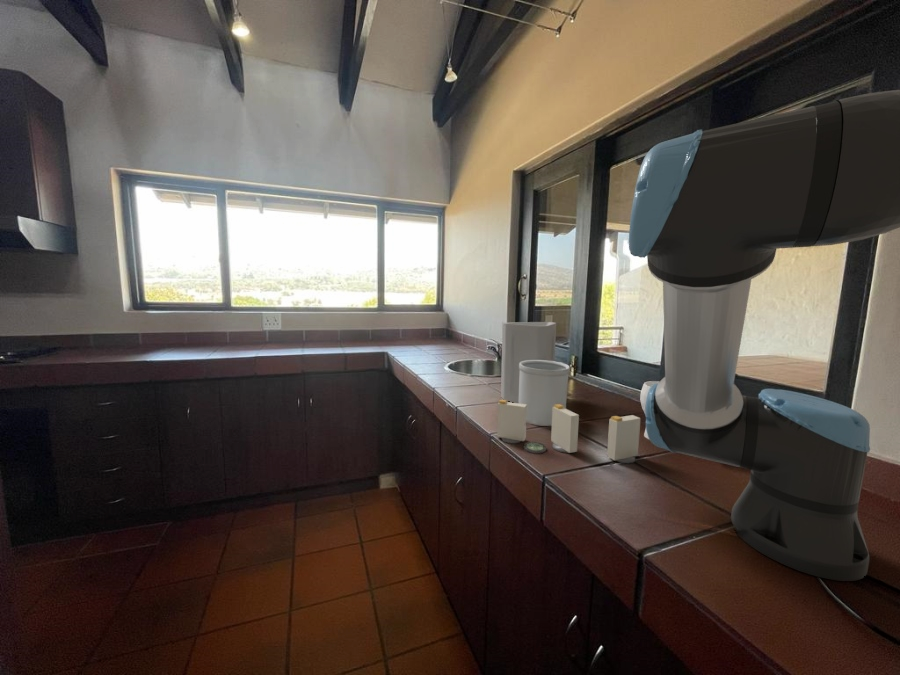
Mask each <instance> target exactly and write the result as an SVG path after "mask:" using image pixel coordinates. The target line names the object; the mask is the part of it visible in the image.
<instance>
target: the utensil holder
mask: <svg viewBox="0 0 900 675" xmlns="http://www.w3.org/2000/svg"><path fill="white" fill-rule="evenodd" d="M519 369H520V376H519V404H527V414H526V424H530V425H535V426H540V427H546V426H547V427H552V407H554V405H556V404H560V405H563V406H564V407H563V408H565V409H567V400H568V399H567V398H568V385H569V373H570V371H571V368H570V365H568V364H566V363H564V362H561V361H556V360H555V361H548V360H526V361H522V362H520V363H519Z"/></svg>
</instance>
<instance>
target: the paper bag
mask: <svg viewBox="0 0 900 675" xmlns="http://www.w3.org/2000/svg"><path fill="white" fill-rule="evenodd" d="M501 328H502V330H501V333H502V334H501V335H502V336H501V370H500V372H501V374H500V376H501V377H500V378H501V379H500V380H501V381H500V383H501V384H500V398H501V397H502V398H503V399H504V400H507V402H508V401H510V402H511V403H512V402H514V403H519V376H520V369H519V363H520V362H522V361H526V360H548V361H556V344H557V343H556V340H557V339H556V337H557V322H553V321H529V322H528V321H527V322H526V321H524V322H522V321H517V322H512V321H511V322H502V326H501ZM502 398H501V399H502ZM503 399H502V400H503Z"/></svg>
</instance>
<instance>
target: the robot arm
mask: <svg viewBox="0 0 900 675" xmlns="http://www.w3.org/2000/svg"><path fill="white" fill-rule="evenodd" d="M632 200H633V201H632V205H631V212H630V220H629V230H628V250H629V252H630V254H631V255H632V256H633V257H639V258H640V259H642V258H646V257H647V258H646V259H647V266H648V270H649V272H650V273H651V275H652V276H653V277H654V278H655V279H657V280H658V281H660V282H662V294H663V295H662V296H663V297H662V300H663V301H662V302H663V307H662V308H663V339H664V342H663V344H664V377H663V378H662V379H661V380H660V382H659V384H654V385H652V386H651V387H650V389H649V391H648V394H647V399H646V407H645V413H644V416H645V429H646V430H647V434H648V437H649V439H650V440H649V439H648V440H649V441H650V443H651V444H653V446H655V447H657V448H660V449H663V450H666V451H668V452H671V453H675V454H682V455H685V456H691V457H694V458H699V459H703V460H707V461H711V462H716V463H719V464H725V465H729V466H733V467H737V468H742V469H746V470H749V471H750V476H749V481H748V483H747V485H746V486H745V487H744V489H743V490H742V492H741V494H740V495H739V497H738V498H737V500H735V503H734V505H732V509H731V516H730V520H731V523H732V525H733V526H734V528H735V529H734V530H733V532H735V533H736V534H737V535H738V537H739V538H740V539H742V540H743V541H744V542H745V543H747V545H749V546H750V547H752V549H754V550H756V551H757V552H759V553H760V554H762V555H764V556H766V557H767V558H769V559H771V560H772V561H776V562H777V563H779V564H782V565H784V566H787V567H788V568H790V569H792V570H793V569H794V570H796V571H798V572H801V573H804V574H808V575H811V576H814V577H818V578H822V579H826V580H827V579H828V580H831V581H837V582H838V581H840V582H853V581H859V580H861V579H864V578H865V577H866V576H867V574H868V571H869V565H870V554H869V550H868V546H867V544H866V540H865V536H864V533H863V530H862V528H861V524H860V521H859V517H858V509H859V503H860V502H859V501H860V497H861V493H862V492H861V491H862V486H863V481H864V480H863V479H864V473H865V468H866V462H867V457H868V453H869V452H870V451H871V447H870V434H871V433H870V431H871V430H870V429H871V428H870V423H869V421H868V420H867V417H866V418H865V415H864V416H863V414H861V413H860V412H858V411H857V410H855V409H853V408H850V407H848V406H845V405H843V404H841V403H837V402H835V401H831V400H828V399H825V398H822V397H818V396H814V395H810V394H805V393H802V392H797V391H792V390H786V389H776V388H764V389H761V391H760V392H759V393H758V397H755V396H748V395H743V394H742V393H741V391H740V389H739V388H738V387H737V385H736V384H735V379H736V374H737V373H736V371H737V366H738V360H739V355H740V350H741V342H742V337H743V333H744V332H743V331H744V326H745V325H744V324H745V319H746V313H747V306H748V302H749V296H750V290H751V284H752V279H755V278H756V277H758V276H760V275H761V274H762V273H764V272H765V271H767V270H768V269H769V268H770V267H771V265H772V264H773V262H774V260H775V258H776V253H777V249H794V248H808V247H809V248H811V247H824V246H834V245H839V244H845V243H850V242H858V241H862V240H866V239H870V238H873V237H876V236H881V235H883V234H887V233H889V232H892V231H894V230H896V229H899V228H900V89H895V90H884V91H876V92H869V93H865V94H859V95H855V96H850V97H845V98H841V99H836V100H835V101H830V102H826V103H822V104H818V105H813V106H809V107H803V108H799V109H794V110H791V111H790V110H789V111H786V112H782V113H776V114H773V115H768V116H764V117H759V118H754V119H750V120H747V121H741V122H737V123H733V124H728V125H725V126H724V125H723V126H718V127H715V128H710V129H706V130H703V129H697V130H696V131H694V132H693V133H690V134H686V135H683V136H679V137H676V138H672V139H669V140H665V141H662V142H659V143H657V144H655V145H654V146H653V147H651V148H650V150H649V151H648V152H647V153H646V154H645V156H644V158H643V160H642V162H641V166H640V168H639V171H638V176H637V179H636V183H635V188H634V193H633V199H632ZM864 576H865V577H864Z"/></svg>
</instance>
